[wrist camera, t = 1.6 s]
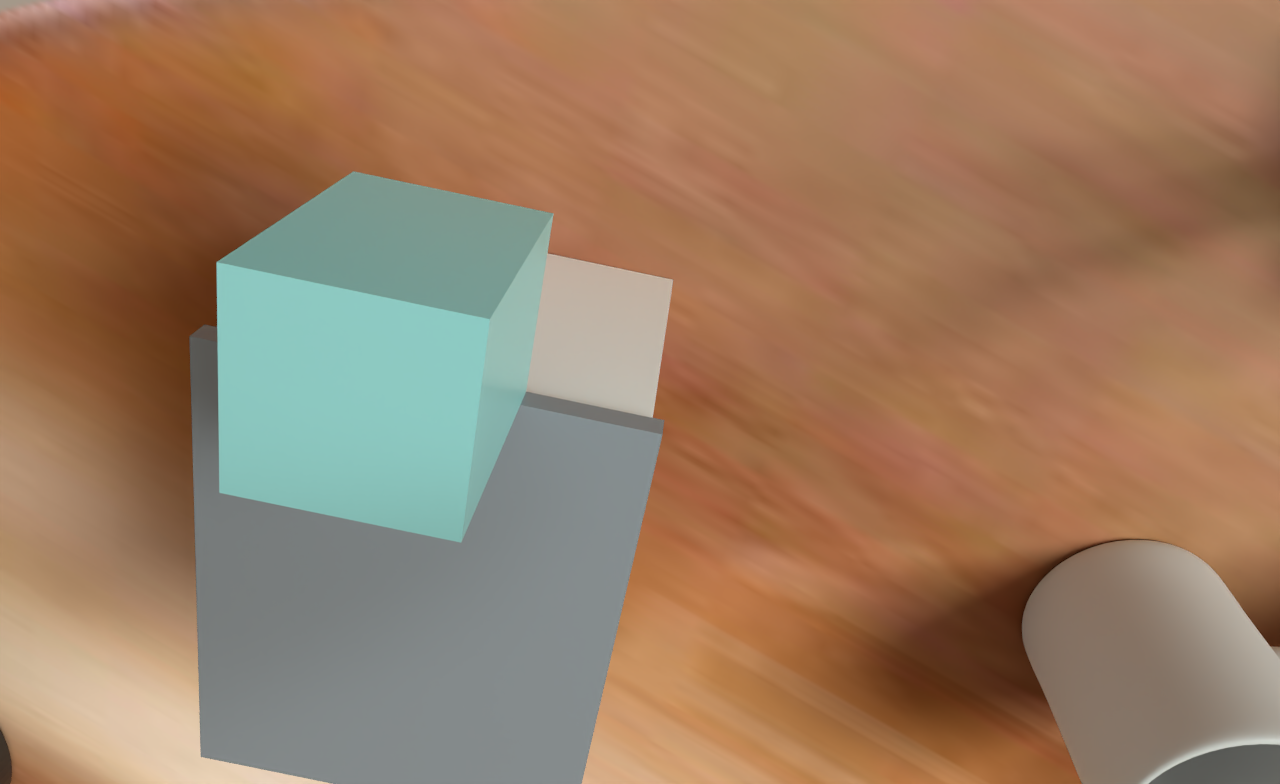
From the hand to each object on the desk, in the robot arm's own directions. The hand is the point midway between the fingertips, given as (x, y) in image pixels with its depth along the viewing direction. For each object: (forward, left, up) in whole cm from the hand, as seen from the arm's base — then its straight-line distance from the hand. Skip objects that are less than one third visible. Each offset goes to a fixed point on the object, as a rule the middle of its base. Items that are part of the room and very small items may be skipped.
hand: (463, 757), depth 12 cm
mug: (+26, -13, -27) cm, 39 cm away
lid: (-4, -8, -16) cm, 18 cm away
